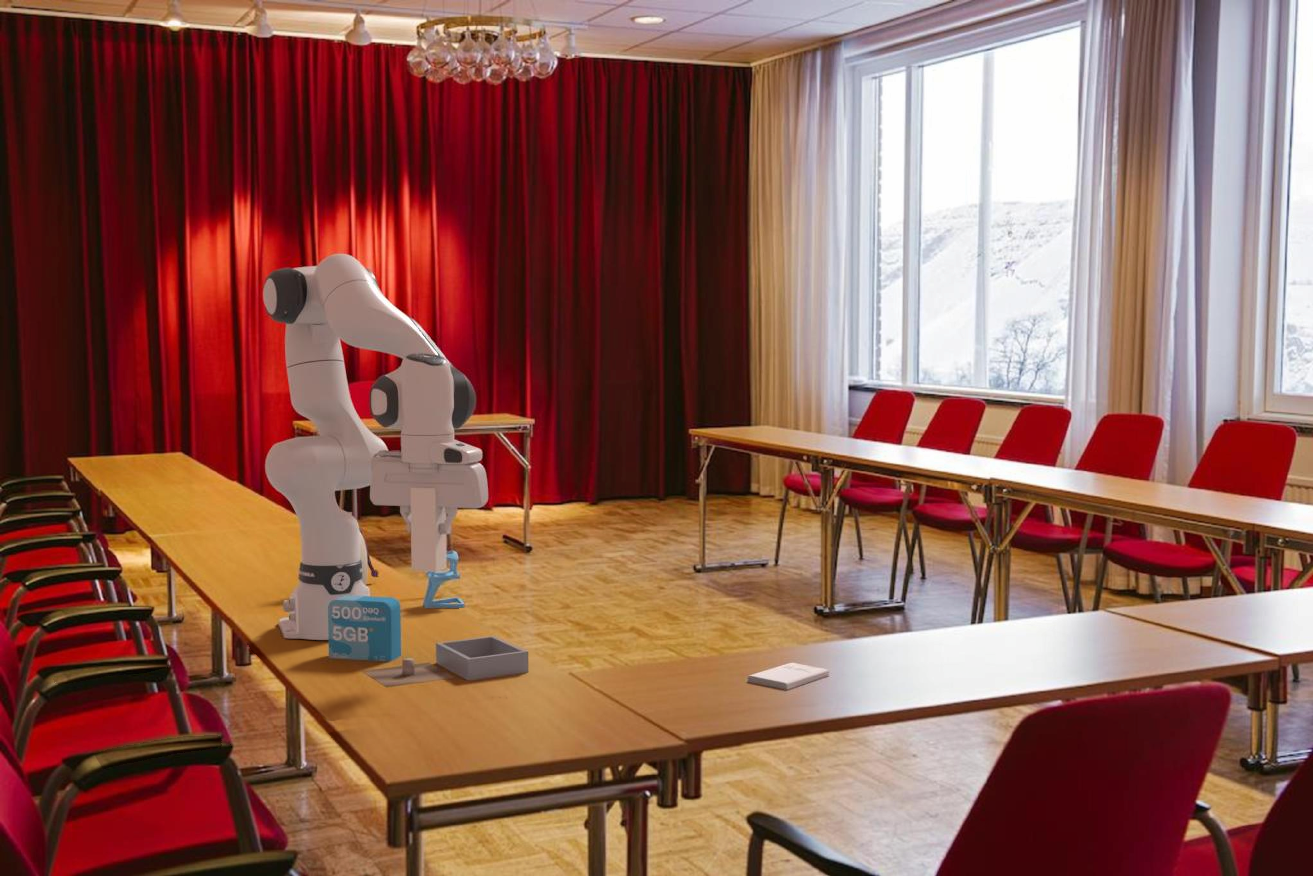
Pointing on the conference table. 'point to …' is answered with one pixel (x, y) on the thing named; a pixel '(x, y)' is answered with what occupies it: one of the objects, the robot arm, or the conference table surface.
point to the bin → (481, 658)
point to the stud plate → (404, 680)
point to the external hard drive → (788, 676)
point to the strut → (427, 531)
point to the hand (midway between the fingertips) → (429, 533)
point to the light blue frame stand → (438, 579)
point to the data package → (364, 628)
